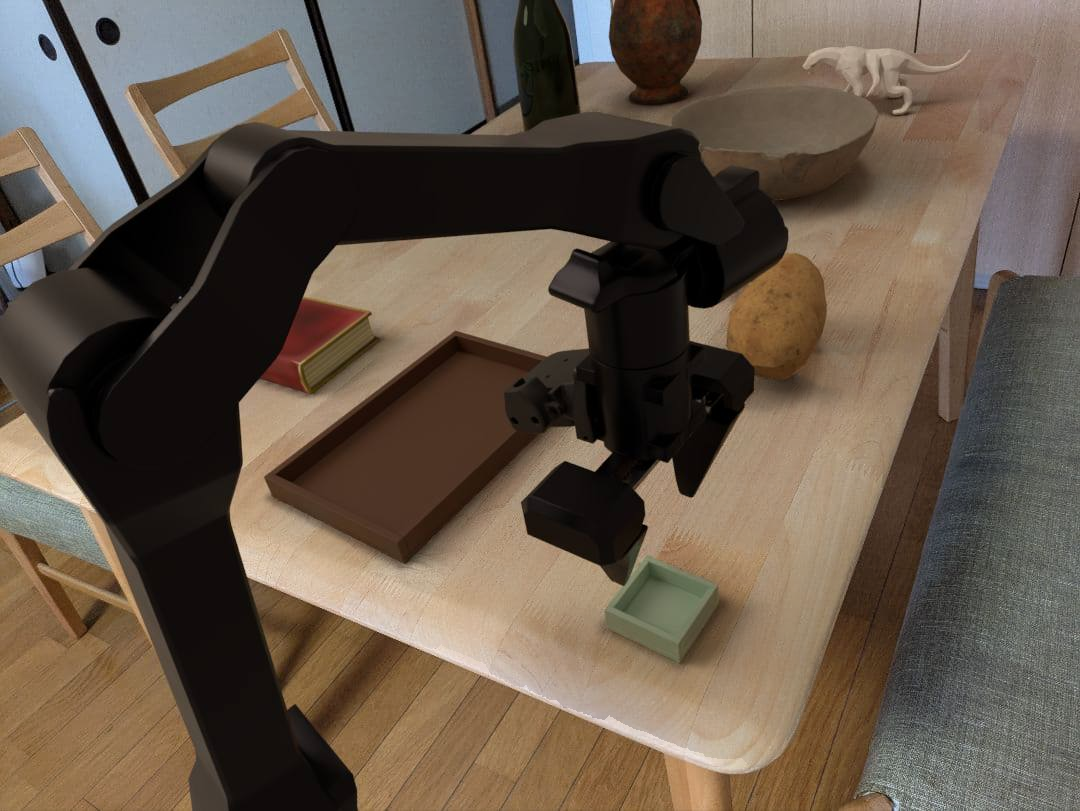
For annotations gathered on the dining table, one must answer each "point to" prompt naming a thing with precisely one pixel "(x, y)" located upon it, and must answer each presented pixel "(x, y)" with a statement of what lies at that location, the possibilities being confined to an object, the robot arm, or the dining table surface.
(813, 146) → the bowl
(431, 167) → the robot arm
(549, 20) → the beer bottle
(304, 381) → the book
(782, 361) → the potato
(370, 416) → the tray
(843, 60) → the white dinosaur figurine
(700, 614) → the celadon dish
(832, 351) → the dining table surface
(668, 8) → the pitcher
